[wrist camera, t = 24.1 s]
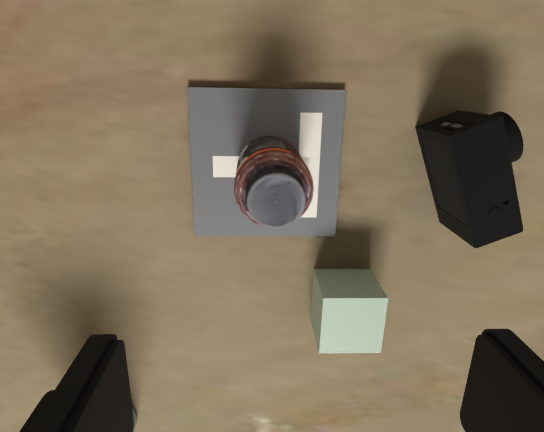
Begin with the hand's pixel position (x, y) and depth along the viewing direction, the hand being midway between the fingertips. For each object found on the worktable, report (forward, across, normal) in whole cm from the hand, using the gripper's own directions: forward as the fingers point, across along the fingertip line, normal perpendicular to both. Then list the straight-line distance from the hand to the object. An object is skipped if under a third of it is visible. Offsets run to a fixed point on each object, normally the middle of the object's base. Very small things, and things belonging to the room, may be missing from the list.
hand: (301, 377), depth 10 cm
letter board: (+28, 0, 0) cm, 28 cm away
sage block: (+28, -8, +14) cm, 33 cm away
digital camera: (+29, -18, 0) cm, 34 cm away
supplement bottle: (+28, 0, 0) cm, 28 cm away
